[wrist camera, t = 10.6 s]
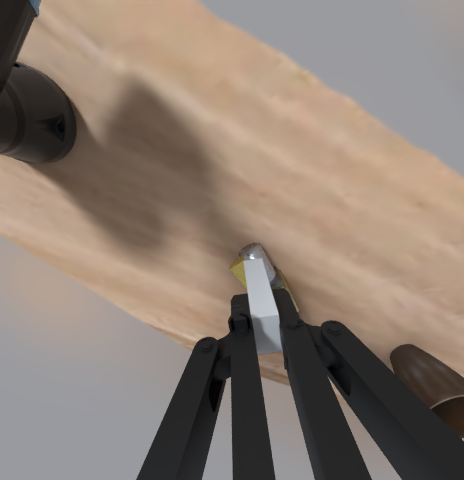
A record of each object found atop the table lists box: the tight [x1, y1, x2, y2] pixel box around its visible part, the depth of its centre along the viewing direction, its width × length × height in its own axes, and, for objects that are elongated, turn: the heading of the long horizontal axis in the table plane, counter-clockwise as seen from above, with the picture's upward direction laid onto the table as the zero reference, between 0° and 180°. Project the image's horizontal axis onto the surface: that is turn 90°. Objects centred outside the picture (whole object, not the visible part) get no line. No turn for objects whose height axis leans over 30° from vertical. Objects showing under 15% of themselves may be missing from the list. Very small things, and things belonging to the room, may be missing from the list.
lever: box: [230, 256, 247, 289], centre depth 42 cm, size 17×4×2 cm, turn 36°
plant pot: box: [390, 344, 464, 439], centre depth 54 cm, size 15×15×16 cm
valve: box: [239, 243, 301, 319], centre depth 49 cm, size 24×7×9 cm, turn 29°
